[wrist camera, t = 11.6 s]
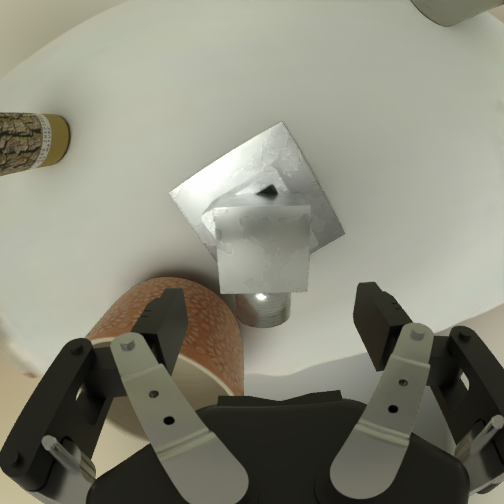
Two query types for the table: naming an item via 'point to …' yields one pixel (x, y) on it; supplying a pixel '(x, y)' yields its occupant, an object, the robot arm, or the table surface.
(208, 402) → the planter
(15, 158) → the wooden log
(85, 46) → the table surface
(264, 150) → the duct socket
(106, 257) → the table surface
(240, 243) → the silver block with cylinder
